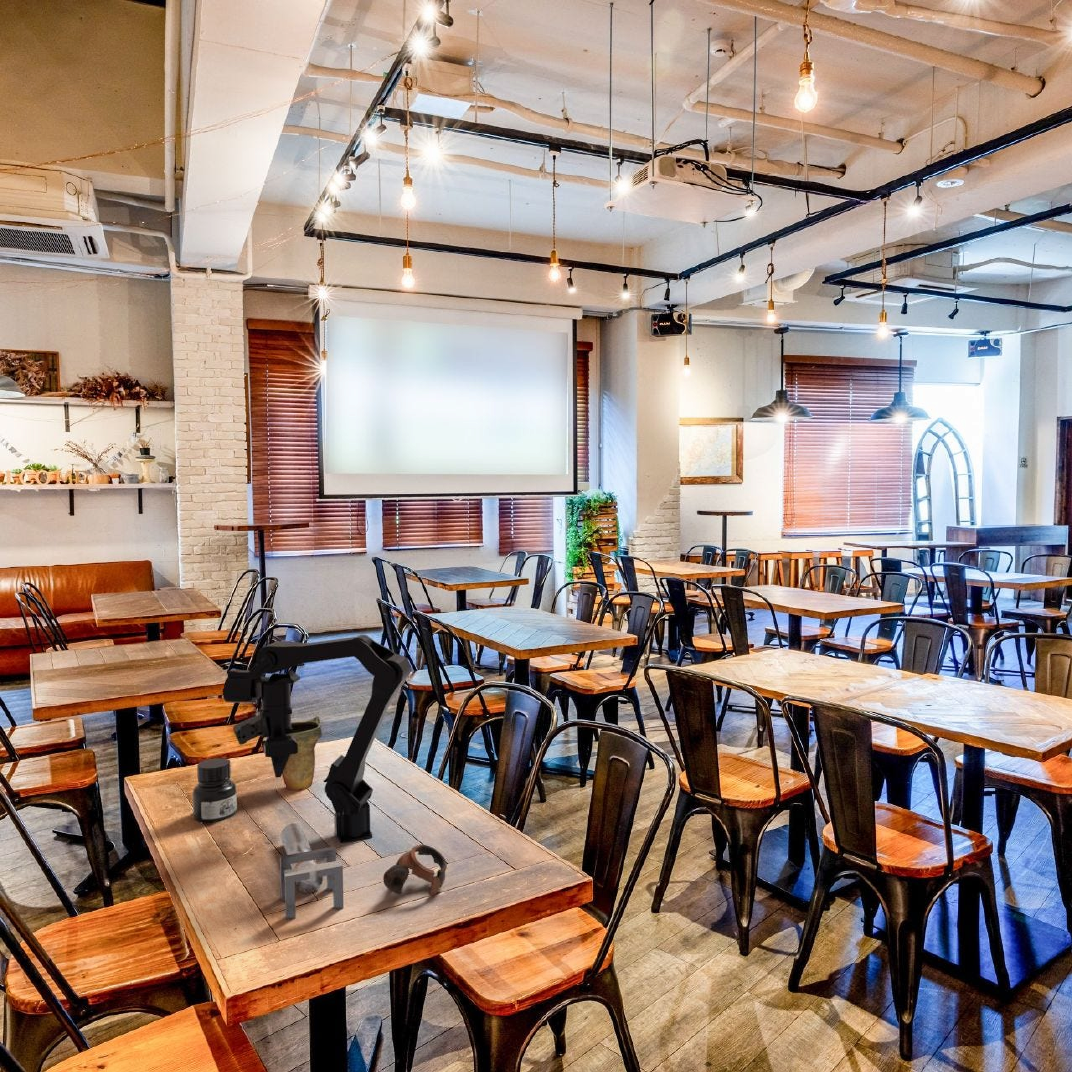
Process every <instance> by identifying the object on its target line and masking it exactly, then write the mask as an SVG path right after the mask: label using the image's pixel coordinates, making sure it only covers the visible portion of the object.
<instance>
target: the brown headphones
mask: <svg viewBox="0 0 1072 1072" xmlns="http://www.w3.org/2000/svg"><path fill="white" fill-rule="evenodd" d="M417 852H418V853H417ZM416 853H417V855H418V856H431V857H432V859H433V863H434V864H437V865H438V866H439V868H440V869H438V871H437V873H435V871H434V870H433V869H431V868H427V867H426V866H424V865H423V864H422V863H421V862H420V861H418V859H417V856H416ZM447 868H448V865H447V860H446V859H445V857H444V855H443V854H442V853H441V852H439V851H438V850H437V849H436V848H434V847H432V846H430V845H426V844H419V845H414V846H413V847H412V848H411V850H409V851H406V852H404V853H403V854H402V855H400V856H399V858H398V859H397V861H396V863H395V864H394V865H392V866H391V867H390V868H388V869H387V870H386V871H385V872H384V874H383V884H384V886H385V887H386V888H387V889H388V890H390V891H391V892H394V894H398V895H401V894H402V891H403V887H404V885H405V882H406V881H407V880H408V878H409V875H410V870H411V874H412V875H414V876H416V877H417V878H419V879H422V880H424V881H425V882H428V883H431V884H430V886H431V887H430V889H429V892H428V894H429V896H431V897H433V896H436V895H437V893H438V892H439V889H440V888H442V886H443V885H444V883H445V880H446V870H447ZM435 874H436V875H435Z"/></svg>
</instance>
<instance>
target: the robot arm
mask: <svg viewBox="0 0 1072 1072" xmlns="http://www.w3.org/2000/svg"><path fill="white" fill-rule="evenodd" d="M345 658H346V659H347V658H355V659H356V660H358V661H359V662H360V664H361V665H362V666H363V667H364V669H365V671H367V672H368V673H369V674H371V675H372V676H373V680H372V682H371V683H372V684H371V696H370V699H369V701H368V703H367V706H366V707H365V710H364V712H363V715H362V717H361V719H360V721H359V724H358V727H357V728H356V731H355V733H354V735H353V737H352V740H351V742H350V745H349V747H348V749H347V751H346V754H345V756H344V755H342V754H341V755H339V757H338V758H337V759H335V760H334V761H333V763H331V764H330V767H329V771H328V773H327V776H326V778H325V779H324V780H323V783H325V786H324V793H325V794H326V797H327V798H328V800H329V801H330V803H331V805H332V808H333V810H334V812H335V813H334V814H333V815H334V816H333V817H334V824H333V825H334V834H335V836H336V838H338V840H339V842H340V843H341V844H342V843H348V842H354V841H359V840H365V839H371V838H373V832H371V805H370V803H369V802H368V801H369V800H370V799H371V797H372V795H373V791H374V789H373V788H372V787H371V785H369V783H367V782H366V781H365V780H364V779H363V778H364V774H365V771H366V759H367V757H368V754H369V752H370V750H371V748H372V746H373V743H374V740H375V738H376V736H377V734H378V732H379V730H380V727H381V725H382V722H383V720H384V717H385V715H386V713H387V711H388V710H389V706H390V704H391V702H392V700H393V698H394V697H395V696H396V695H397V693H398V692H399V691H400V689H401V688H402V686H403V685H404V684H405V682H406V680H407V679H408V677H409V676H410V674H411V671H412V666H411V663H410V661H409V660H408V658H407V657H405V656H404V655H402V654H399V653H398V654H397V653H395V652H394V651H393V650H392V649H390V648H388V647H386V646H384V645H383V644H380V643H379V642H377V641H375V640H374V639H373V638H372V637H370V636H368V634H367V635H366V634H360V635H357V636H351V637H345V638H344V637H343V638H337V639H327V640H321V641H316V642H315V641H314V642H306V643H305V642H297V641H290V640H277V641H275V642H273V643H270V644H267V645H265V646H263V647H261V648H260V649H259V651H258V652H257V655H256V661H255V662H254V664H253V666H252V667H251V668H250V669H249V670H247V669H245V670H244V669H243V670H242V669H237V668H234V669H233V668H232V669H230V670H228V671H227V677H226V679H225V681H224V685H223V688H222V696H223V699H224V701H225V702H226V703H234V704H235V703H238V704H241V703H243V704H247V703H248V704H254V703H256V702H257V701H258V700H259V699H260V698H261V706H260V708H259V714H258V715H254V716H252V717H249V718H247V719H245V720H243V721H240V722H239V723H236V724H235V725H234V726H233V727H232V731H233V734H234V735H235V738H236V740H237V742H238V745H240V746H242V745H245V744H247V742H249V741H251V740H253V739H255V738H258V737H259V736H260V737H261V738H262V739H263V738H264V740H261V741H260V744H261V746H262V751H263V752H264V756H265V758H270V759H271V765H272V769H273V773H274V776H275V778H276V779H277V778H281V777H283V776H282V773H283V771H284V768H285V766H286V763H287V761H288V759H289V757H290V754H296V753H298V743H297V741H296V739H295V738H294V737H293V736H291V735H288V736H286V734H293V729H292V727H291V722H292V714H293V708H292V703H291V699H292V697H291V684H295V683H296V682H298V681H300V680H301V675H299V674H297V673H296V672H294V670H293V669H292V668H293V667H296V666H300V665H302V664H308V663H316V662H323V661H329V660H338V659H345ZM287 669H289V670H288V671H286V673H281V672H282V671H285V670H287ZM279 672H280V673H279ZM266 674H269V675H270V674H271V675H270V676H265V675H266Z"/></svg>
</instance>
